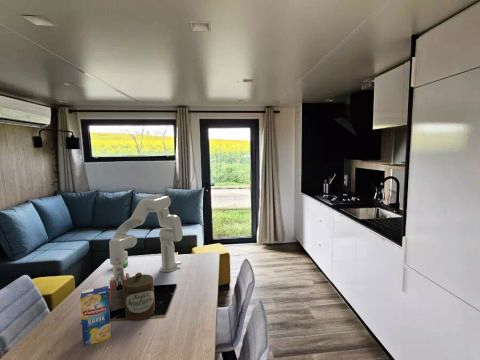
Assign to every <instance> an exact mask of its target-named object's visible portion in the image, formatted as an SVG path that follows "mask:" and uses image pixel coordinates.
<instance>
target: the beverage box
mask: <svg viewBox="0 0 480 360" xmlns="http://www.w3.org/2000/svg"><path fill="white" fill-rule="evenodd" d="M109 290H110V285H106V286H105V285H104V286H102V287H96V288H90V289H86V290H82V291H81V292H80V293H81V294H80V298H79V299H80V311H81V312H80V314H81V330H82V331H81V332H82V333H81V334H82V347H87V346H90V345H93V344H97V343H101V342H103V341H107V340H111V339H112V336H111V335H112V334H111V333H112V332H111V331H112V329H111V308H110V302H109Z"/></svg>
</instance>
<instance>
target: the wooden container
mask: <svg viewBox="0 0 480 360" xmlns="http://www.w3.org/2000/svg"><path fill="white" fill-rule="evenodd" d="M124 290H125V308H124V311H125V312H124V314H125V319H126V320H128V321H131V322H140V321H143V320H146V319H148V318H149V317H151V316H152V315H154V313H155V312H154V311H156V301H155V286H154V277H153V276H152V275H150V274H143V273H142V272H137V273H135V275H133V276H131V277H130V278H128V279H127V280H126V281H125V282H124Z"/></svg>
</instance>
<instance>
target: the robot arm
mask: <svg viewBox="0 0 480 360" xmlns="http://www.w3.org/2000/svg"><path fill="white" fill-rule="evenodd" d="M171 202H172V201H171V198H170V197H169V195H157V194H156V195H149V196H147V197H146V198H142V199H140V200H139V202H138V204H137V205H136V207H135V209H134V211H133V212H132V215H131V216H130V217H129V218H128V219H126V220H125V221H124V222H123V223H122V224H121V225H119V227H118V228H117V229H116V231H115V233H114V235H113V237H112V238H111V239H110V240H109V241H108V242H109V243H108V245H109V263H110V265H112V273H113V277H114V279H115V282H116V283H117V286H116V291H119V290H123V285H122V280H124V275H125V272H124V269H125V268H123V263H124V262H125V257H124V251H125V250H127V249H132V248H134V247H135V246H136V245H137V243H138V238H137V237H136V236H135V235H133V234H127V233H128V232H129V231H130V230H132V229H134V228H137V227H139V226H141V225H143V224H144V223H145V221H146V219H147V217H148V215H149V213H156V214H157V215H156V216H157V221H158V224H159V226H160V228H161V229H160V230H159V233H158V236H159V241H160V250H161V251H160V252H161V267H159V271H160V272H162V273H170V272H174V271H176V270H177V269H178V266H181V265H182V262H181V261H175V259H176V258H175V256H176V255H175V244H174V242H180V241H181V240H182V238H183V234H184V233H183V227H182V221H181V218H180V216H178V215H177V214H170V210H169V207H170V206H171Z"/></svg>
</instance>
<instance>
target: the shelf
mask: <svg viewBox="0 0 480 360" xmlns="http://www.w3.org/2000/svg"><path fill="white" fill-rule="evenodd" d="M124 277H127V279H128V278H130V274H129V272H128V273H125V274H124ZM110 280H115V279H114V276H112V277H110ZM109 308H110V312H114V311H117V310H121V309H123V308H124V309H125V290H124V289H123V290H119V291H114V292H113V302H111V300H110V289H109Z"/></svg>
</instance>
